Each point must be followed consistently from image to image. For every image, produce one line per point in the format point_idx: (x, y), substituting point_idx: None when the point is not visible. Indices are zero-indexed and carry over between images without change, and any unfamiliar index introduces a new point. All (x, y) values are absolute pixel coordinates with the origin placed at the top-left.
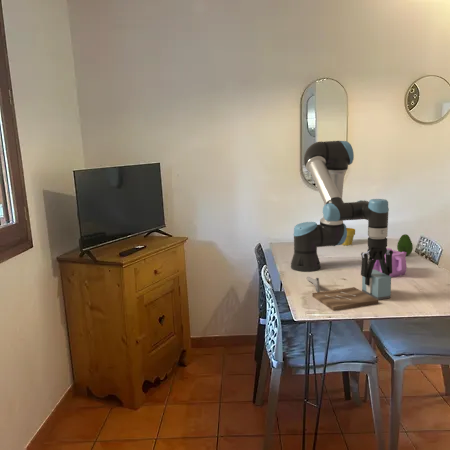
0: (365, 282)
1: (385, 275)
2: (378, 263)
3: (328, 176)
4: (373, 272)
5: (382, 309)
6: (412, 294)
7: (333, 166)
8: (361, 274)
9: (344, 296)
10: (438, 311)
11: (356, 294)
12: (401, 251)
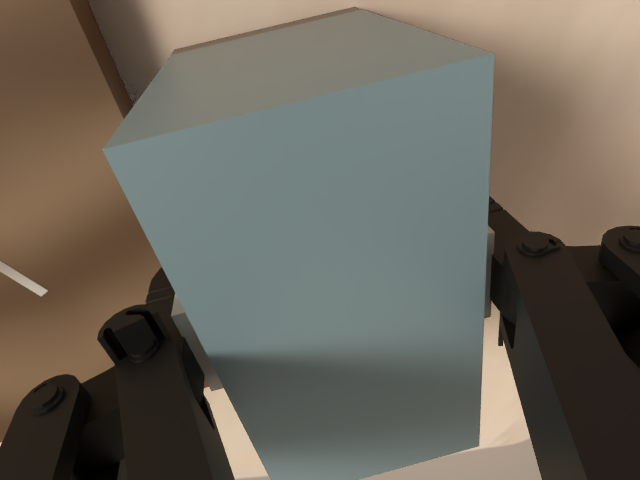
0: (153, 296)
1: (443, 410)
2: None
3: None
4: (339, 275)
5: (233, 428)
6: (609, 196)
7: None
8: (30, 421)
9: None
10: (511, 435)
11: (58, 255)
12: None
